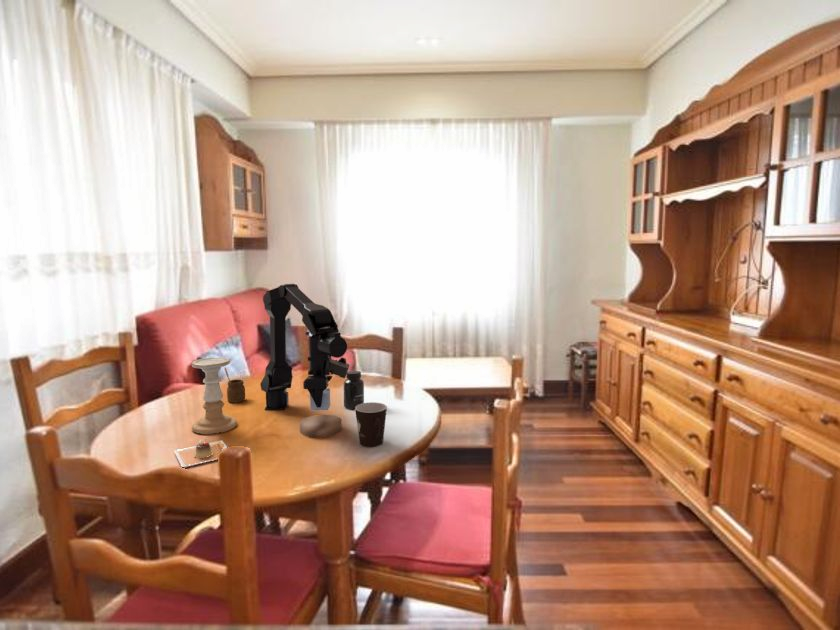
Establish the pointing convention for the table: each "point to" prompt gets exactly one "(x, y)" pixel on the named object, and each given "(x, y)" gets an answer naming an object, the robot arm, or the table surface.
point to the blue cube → (325, 402)
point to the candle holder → (213, 398)
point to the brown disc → (320, 425)
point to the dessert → (199, 451)
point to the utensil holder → (235, 390)
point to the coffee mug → (371, 423)
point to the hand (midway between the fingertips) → (320, 404)
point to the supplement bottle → (353, 390)
